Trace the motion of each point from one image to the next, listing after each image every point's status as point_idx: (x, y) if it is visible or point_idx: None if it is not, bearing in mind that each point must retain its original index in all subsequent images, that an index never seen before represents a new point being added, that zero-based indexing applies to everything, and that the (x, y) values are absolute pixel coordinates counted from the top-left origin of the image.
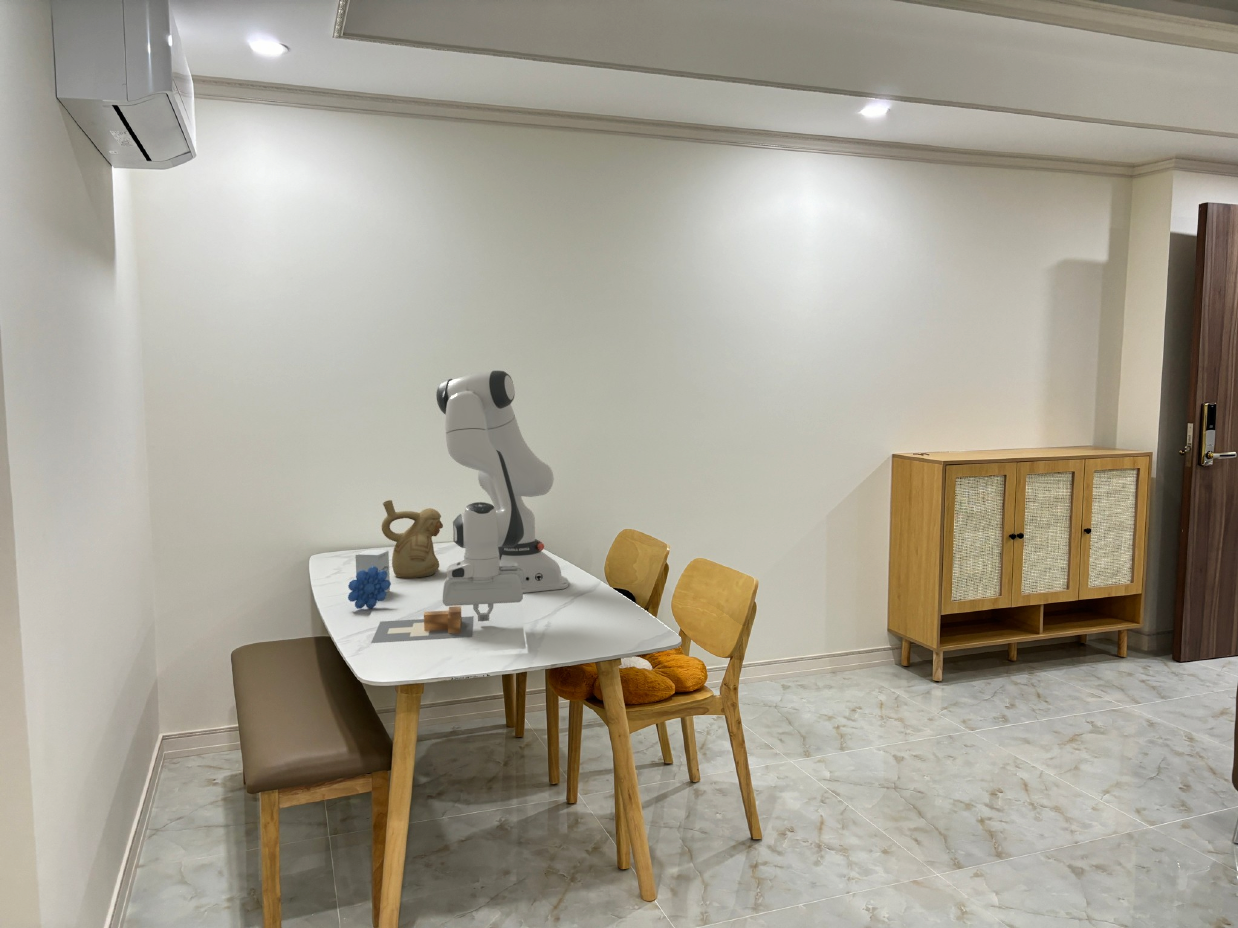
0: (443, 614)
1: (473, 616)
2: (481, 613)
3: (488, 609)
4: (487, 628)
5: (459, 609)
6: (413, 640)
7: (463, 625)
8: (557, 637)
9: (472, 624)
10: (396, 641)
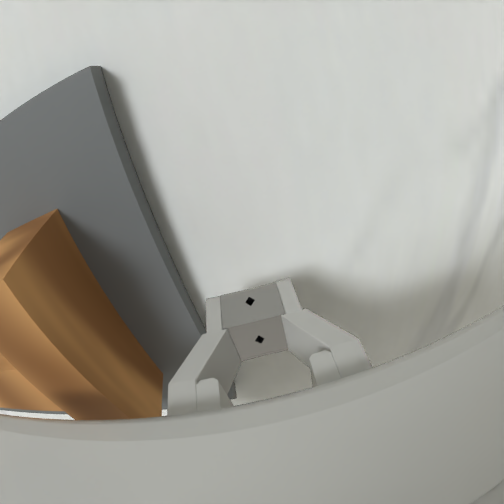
0: (47, 408)
1: (91, 71)
2: (240, 335)
3: (304, 338)
4: (261, 245)
5: (57, 357)
6: (62, 413)
7: (116, 289)
8: (490, 304)
9: (163, 268)
10: (31, 412)
